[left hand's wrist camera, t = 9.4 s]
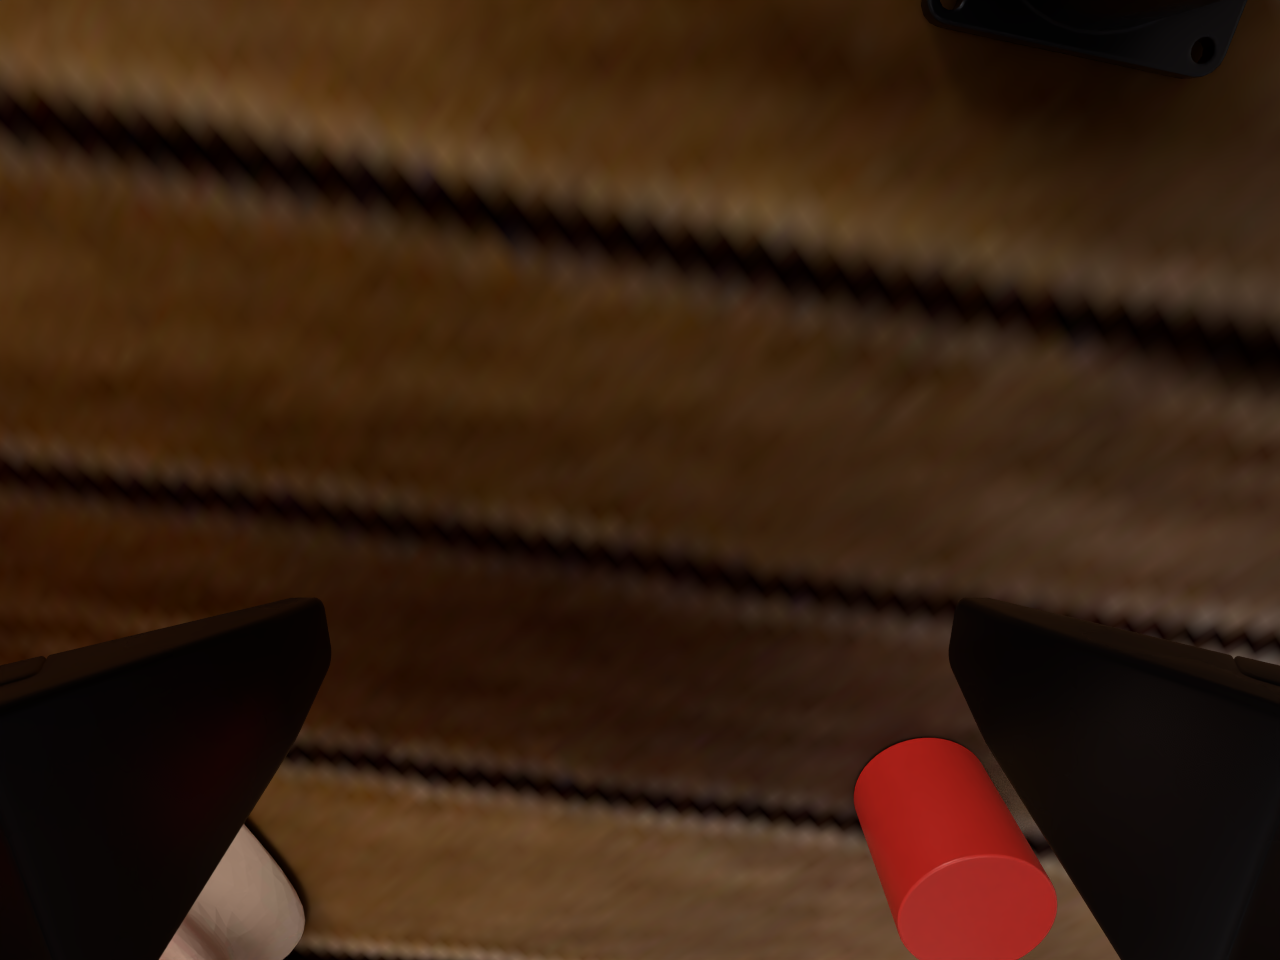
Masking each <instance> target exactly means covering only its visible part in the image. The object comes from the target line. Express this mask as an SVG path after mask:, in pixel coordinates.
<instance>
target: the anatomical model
mask: <svg viewBox="0 0 1280 960" xmlns="http://www.w3.org/2000/svg"><path fill="white" fill-rule="evenodd" d="M304 926H305V916H304V911H303V906H302V904H301V901H300V899H299V897H298V895H297V893H296V891H295V889H294V887H293V886H292V884H291V883H290V881H289V880H288V878H287V877H286V875H285V874H284V872H283V871H282V870H281V868H280V867H279V866H278V864H277V863H276V862H275V860H274V859H273V858H272V856H271V855H270V854H269V853H268V851H267V850H266V849H265V848H264V847H263V846H262V844H261V843H260V842H259V841H258V840H257V839H256V837H255V836H254V835H253V834H252V833H251V832H250V830H249V829H248V828H247V827H246V826H245V825H244V824H243V826H242V827H241V829H240V831H239V832H238V834H237V835H236V837H235V839H234V840H233V842H232V843H231V845H230V847H229V848H228V850H227V852H226V853H225V855H224V856H223V858H222V860H221V861H220V863H219V864H218V866H217V868H216V869H215V871H214V872H213V874H212V876H211V877H210V879H209V880H208V882H207V884H206V885H205V887H204V888H203V890H202V892H201V893H200V895H199V896H198V898H197V900H196V901H195V903H194V904H193V906H192V908H191V909H190V911H189V912H188V914H187V916H186V917H185V919H184V920H183V922H182V924H181V925H180V927H179V928H178V930H177V932H176V933H175V935H174V936H173V938H172V940H171V941H170V943H169V944H168V946H167V948H166V949H165V951H164V952H163V954H162V956H161V957H160V959H159V960H283V959H284V958H285V957H286V956H287V955H288V954H289V953H290V952H291V951H292V950H293V949H294V947H295V946H296V945H297V943H298V942H299V940H300V939H301V937H302V934H303V932H304Z"/></svg>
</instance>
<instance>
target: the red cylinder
mask: <svg viewBox="0 0 1280 960" xmlns="http://www.w3.org/2000/svg"><path fill="white" fill-rule="evenodd" d="M854 805H855V809H856V812H857V815H858V818H859V821H860V824H861V827H862V830H863V832H864V835H865V838H866V841H867V844H868V847H869V850H870V853H871V855H872V858H873V861H874V864H875V867H876V870H877V873H878V876H879V878H880V881H881V884H882V887H883V890H884V893H885V896H886V899H887V901H888V904H889V907H890V910H891V913H892V916H893V919H894V922H895V924H896V927H897V930H898V933H899V936H900V938H901V940H902V942H903V944H904V945H905V947H906V948H907V949H908V950H909V951H910V953H912V954H913V955H914V956H915V957H916V958H917V959H919V960H1017V959H1019V958H1021V957H1023V956H1024V955H1026V954H1027V953H1029V952H1030V951H1031V950H1033V949H1034V948H1035V947H1036V946H1037V945H1038V944H1039V943H1040V942H1041V941H1042V940H1043V939H1044V938H1045V936H1046V935H1047V934H1048V932H1049V931H1050V929H1051V927H1052V925H1053V923H1054V920H1055V917H1056V912H1057V896H1056V892H1055V889H1054V887H1053V885H1052V883H1051V881H1050V879H1049V877H1048V876H1047V874H1046V872H1045V871H1044V869H1043V867H1042V865H1041V864H1040V862H1039V860H1038V859H1037V857H1036V855H1035V854H1034V852H1033V850H1032V848H1031V847H1030V845H1029V843H1028V842H1027V840H1026V838H1025V837H1024V835H1023V833H1022V832H1021V830H1020V828H1019V826H1018V825H1017V823H1016V821H1015V820H1014V818H1013V816H1012V815H1011V813H1010V811H1009V809H1008V808H1007V806H1006V804H1005V803H1004V801H1003V799H1002V798H1001V796H1000V794H999V793H998V791H997V789H996V787H995V786H994V784H993V782H992V781H991V779H990V777H989V776H988V774H987V772H986V770H985V769H984V767H983V765H982V764H981V762H980V761H979V759H978V758H977V757H976V756H975V755H974V754H973V753H972V752H971V751H969V750H968V749H967V748H965V747H963V746H961V745H959V744H957V743H955V742H952V741H949V740H945V739H938V738H918V739H912V740H907V741H904V742H901V743H898V744H895V745H893V746H891V747H889V748H887V749H885V750H884V751H882V752H881V753H879V754H878V755H876V756H875V757H874V758H873V759H872V760H871V761H870V762H869V763H868V764H867V765H866V766H865V768H864V769H863V771H862V772H861V774H860V776H859V778H858V780H857V783H856V786H855V791H854Z"/></svg>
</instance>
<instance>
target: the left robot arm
mask: <svg viewBox="0 0 1280 960" xmlns="http://www.w3.org/2000/svg"><path fill="white" fill-rule="evenodd" d="M1246 2H1247V0H957V3H956V5H955V7H954V9H953V10H947V9H945V8H944V7H942V5H941V2H940V0H922V3H921V7H922V11H923V14H924V16H925V18H926V19H927V20H928V21H929V23H931V24H933V25H935V26H937V27H942V28H946V29H951V30H956V31H961V32H965V33H970V34H975V35H979V36H984V37H989V38H993V39H998V40H1003V41H1007V42H1012V43H1017V44H1021V45H1026V46H1031V47H1035V48H1040V49H1045V50H1049V51H1054V52H1059V53H1063V54H1068V55H1073V56H1077V57H1082V58H1087V59H1091V60H1096V61H1101V62H1106V63H1110V64H1115V65H1120V66H1124V67H1129V68H1134V69H1138V70H1143V71H1148V72H1152V73H1157V74H1162V75H1166V76H1171V77H1176V78H1180V79H1190V78H1196V77H1202V76H1204V75H1207V74H1209V73H1211V72H1213V71H1214V70H1215V69H1216V68H1217V67H1218V66H1219V65H1220V64H1221V62H1222V60H1223V59H1224V57H1225V55H1226V53H1227V50H1228V48H1229V45H1230V42H1231V40H1232V37H1233V35H1234V32H1235V30H1236V27H1237V25H1238V22H1239V20H1240V17H1241V15H1242V12H1243V9H1244V7H1245V4H1246ZM1196 41H1199V42H1201V44H1202V47H1203V53H1202V57H1201V58H1200V60H1199V61H1198V62H1197V63H1195V62H1194V61H1193V60H1192V57H1191V49H1192V46H1193V45H1194V43H1195V42H1196ZM330 661H331V645H330V638H329V632H328V626H327V620H326V614H325V608H324V605H323V603H322V602H321V600H319V599H318V598H289V599H285V600H280V601H276V602H272V603H268V604H264V605H259V606H255V607H251V608H247V609H242V610H238V611H234V612H230V613H226V614H221V615H217V616H213V617H209V618H204V619H200V620H196V621H192V622H188V623H183V624H179V625H175V626H171V627H166V628H162V629H158V630H154V631H150V632H145V633H141V634H137V635H133V636H128V637H124V638H120V639H116V640H112V641H107V642H103V643H99V644H95V645H90V646H86V647H82V648H78V649H74V650H69V651H65V652H61V653H57V654H52V655H49V656H48V657H47V659H46V658H45V657H43V656H40V657H35V658H31V659H27V660H22V661H18V662H14V663H10V664H5V665H1V666H0V960H159V959H160V957H161V956H162V954H163V952H164V951H165V949H166V948H167V946H168V944H169V943H170V941H171V940H172V938H173V936H174V935H175V933H176V932H177V930H178V928H179V927H180V925H181V924H182V922H183V920H184V919H185V917H186V916H187V914H188V912H189V911H190V909H191V908H192V906H193V904H194V903H195V901H196V900H197V898H198V896H199V895H200V893H201V892H202V890H203V888H204V887H205V885H206V884H207V882H208V880H209V879H210V877H211V876H212V874H213V872H214V871H215V869H216V868H217V866H218V864H219V863H220V861H221V860H222V858H223V856H224V855H225V853H226V852H227V850H228V848H229V847H230V845H231V843H232V842H233V840H234V839H235V837H236V835H237V834H238V832H239V831H240V829H241V827H242V826H243V824H244V823H245V821H246V819H247V818H248V816H249V815H250V813H251V811H252V810H253V808H254V807H255V805H256V803H257V802H258V800H259V799H260V797H261V795H262V794H263V792H264V791H265V789H266V787H267V786H268V784H269V783H270V781H271V779H272V778H273V776H274V775H275V773H276V771H277V770H278V768H279V767H280V765H281V763H282V762H283V760H284V759H285V757H286V755H287V754H288V752H289V750H290V748H291V747H292V745H293V743H294V742H295V740H296V738H297V736H298V734H299V732H300V730H301V728H302V726H303V723H304V721H305V719H306V717H307V715H308V712H309V710H310V708H311V706H312V704H313V701H314V699H315V697H316V695H317V693H318V691H319V688H320V686H321V684H322V682H323V680H324V677H325V675H326V673H327V671H328V668H329V665H330ZM949 661H950V665H951V668H952V671H953V673H954V675H955V677H956V680H957V682H958V684H959V686H960V688H961V691H962V693H963V695H964V697H965V699H966V702H967V704H968V706H969V708H970V710H971V712H972V715H973V717H974V719H975V721H976V723H977V726H978V728H979V730H980V732H981V734H982V736H983V738H984V740H985V742H986V743H987V745H988V747H989V749H990V750H991V752H992V754H993V755H994V757H995V759H996V760H997V762H998V763H999V765H1000V767H1001V768H1002V770H1003V771H1004V773H1005V775H1006V776H1007V778H1008V779H1009V781H1010V783H1011V784H1012V786H1013V787H1014V789H1015V791H1016V792H1017V794H1018V795H1019V797H1020V799H1021V800H1022V802H1023V803H1024V805H1025V807H1026V808H1027V810H1028V811H1029V813H1030V815H1031V816H1032V818H1033V819H1034V821H1035V823H1036V824H1037V826H1038V827H1039V829H1040V831H1041V832H1042V834H1043V835H1044V837H1045V839H1046V840H1047V842H1048V843H1049V845H1050V847H1051V848H1052V850H1053V852H1054V853H1055V855H1056V856H1057V858H1058V860H1059V861H1060V863H1061V864H1062V866H1063V868H1064V869H1065V871H1066V872H1067V874H1068V876H1069V877H1070V879H1071V880H1072V882H1073V884H1074V885H1075V887H1076V888H1077V890H1078V892H1079V893H1080V895H1081V896H1082V898H1083V900H1084V901H1085V903H1086V904H1087V906H1088V908H1089V909H1090V911H1091V912H1092V914H1093V916H1094V917H1095V919H1096V920H1097V922H1098V924H1099V925H1100V927H1101V928H1102V930H1103V932H1104V933H1105V935H1106V936H1107V938H1108V940H1109V941H1110V943H1111V944H1112V946H1113V948H1114V949H1115V951H1116V953H1117V954H1118V956H1119V957H1120V959H1121V960H1280V666H1279V665H1275V664H1270V663H1266V662H1262V661H1258V660H1253V659H1249V658H1245V657H1240V656H1237V657H1235V658H1234V659H1233V657H1232V656H1231V655H1228V654H1223V653H1219V652H1215V651H1211V650H1207V649H1202V648H1198V647H1194V646H1190V645H1185V644H1181V643H1177V642H1173V641H1169V640H1164V639H1160V638H1156V637H1152V636H1147V635H1143V634H1139V633H1135V632H1131V631H1126V630H1122V629H1118V628H1114V627H1109V626H1105V625H1101V624H1097V623H1092V622H1088V621H1084V620H1080V619H1076V618H1071V617H1067V616H1063V615H1059V614H1054V613H1050V612H1046V611H1042V610H1038V609H1033V608H1029V607H1025V606H1021V605H1016V604H1012V603H1008V602H1004V601H1000V600H995V599H991V598H962V599H961V600H959V601H958V603H957V605H956V608H955V614H954V620H953V626H952V632H951V638H950V644H949Z"/></svg>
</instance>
